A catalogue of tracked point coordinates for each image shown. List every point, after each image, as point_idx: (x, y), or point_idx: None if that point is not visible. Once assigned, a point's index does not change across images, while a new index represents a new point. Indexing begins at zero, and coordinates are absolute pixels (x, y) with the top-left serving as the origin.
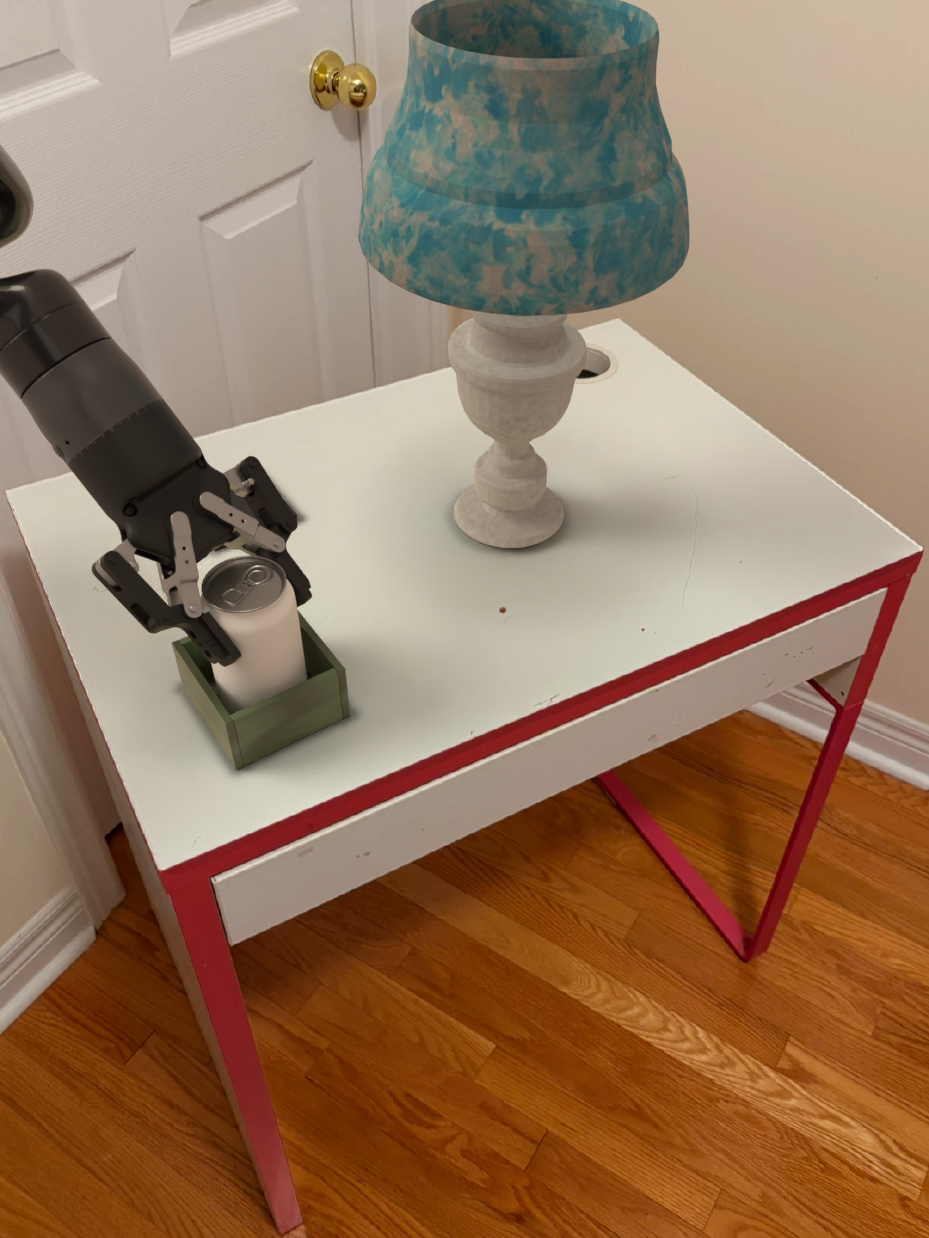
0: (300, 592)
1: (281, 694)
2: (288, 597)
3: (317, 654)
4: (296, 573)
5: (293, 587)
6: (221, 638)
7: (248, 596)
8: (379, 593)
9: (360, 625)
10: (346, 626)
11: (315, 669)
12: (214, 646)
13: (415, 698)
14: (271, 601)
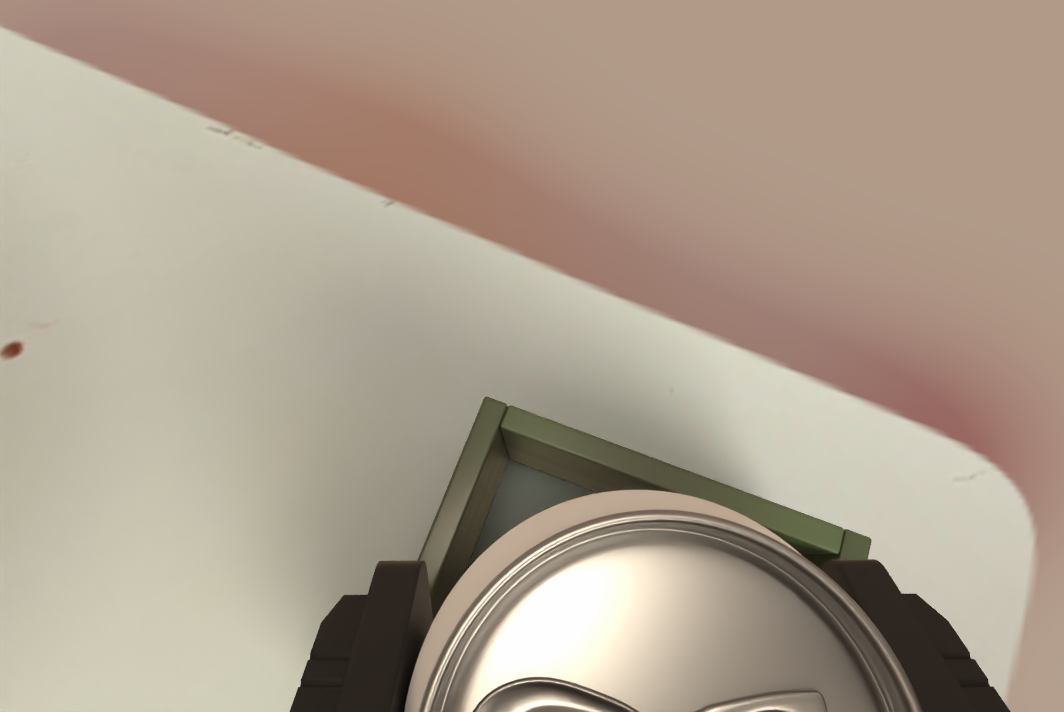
0: (415, 589)
1: (678, 482)
2: (543, 530)
3: (459, 540)
4: (351, 659)
5: (410, 638)
6: (919, 642)
7: (716, 682)
8: (82, 665)
9: (224, 622)
10: (246, 654)
11: (460, 567)
12: (941, 655)
13: (371, 347)
14: (685, 513)
